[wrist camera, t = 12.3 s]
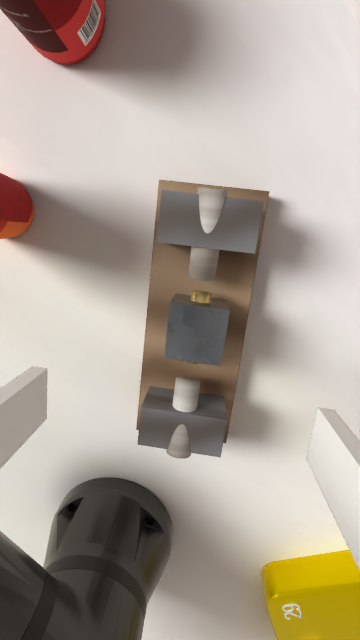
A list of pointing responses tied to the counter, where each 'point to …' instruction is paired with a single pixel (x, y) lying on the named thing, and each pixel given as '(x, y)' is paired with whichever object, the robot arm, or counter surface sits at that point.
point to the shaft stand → (182, 277)
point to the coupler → (196, 328)
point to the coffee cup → (14, 208)
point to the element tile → (314, 597)
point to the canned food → (59, 26)
